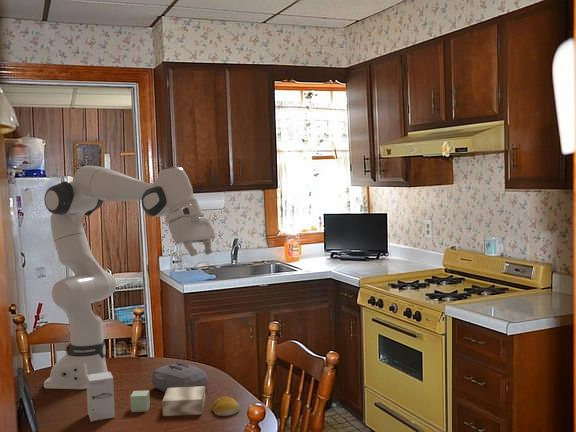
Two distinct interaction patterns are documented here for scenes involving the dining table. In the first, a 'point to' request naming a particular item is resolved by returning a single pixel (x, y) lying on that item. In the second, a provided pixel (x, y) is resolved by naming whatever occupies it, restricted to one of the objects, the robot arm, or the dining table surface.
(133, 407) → the sage cube
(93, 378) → the supplement box
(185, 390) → the wooden block
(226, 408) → the bread roll
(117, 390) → the dining table surface
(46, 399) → the dining table surface
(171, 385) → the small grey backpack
